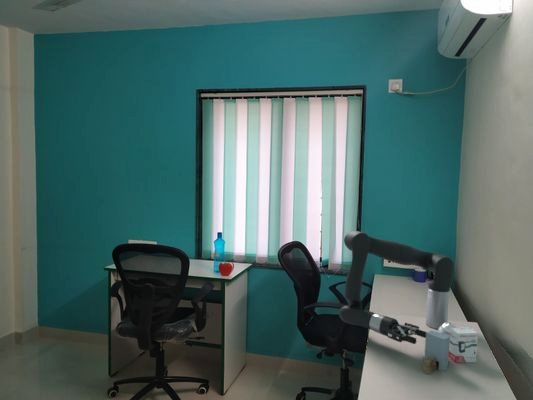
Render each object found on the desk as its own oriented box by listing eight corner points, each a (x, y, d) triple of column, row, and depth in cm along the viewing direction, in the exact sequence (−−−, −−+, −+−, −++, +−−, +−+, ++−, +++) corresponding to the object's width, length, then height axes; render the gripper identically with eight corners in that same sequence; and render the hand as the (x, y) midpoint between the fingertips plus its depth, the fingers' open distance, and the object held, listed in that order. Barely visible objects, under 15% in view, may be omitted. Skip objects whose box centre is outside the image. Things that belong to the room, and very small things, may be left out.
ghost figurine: (432, 345, 170) (433, 321, 169) (442, 338, 176) (443, 316, 175) (454, 352, 163) (455, 328, 162) (463, 346, 170) (465, 322, 169)
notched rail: (443, 358, 158) (444, 347, 158) (448, 360, 157) (449, 349, 156) (422, 372, 147) (423, 360, 147) (428, 374, 146) (429, 362, 145)
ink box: (455, 363, 155) (457, 333, 154) (448, 356, 160) (450, 327, 158) (476, 362, 156) (478, 332, 155) (468, 356, 161) (470, 327, 160)
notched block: (429, 360, 156) (431, 330, 155) (447, 367, 151) (449, 336, 150) (424, 364, 153) (426, 333, 152) (442, 371, 148) (444, 339, 147)
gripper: (374, 320, 163) (412, 333, 151) (393, 312, 172) (430, 324, 160) (373, 338, 163) (411, 353, 151) (392, 329, 173) (429, 342, 161)
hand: (421, 338), depth 156 cm, fingers open, 8 cm apart
